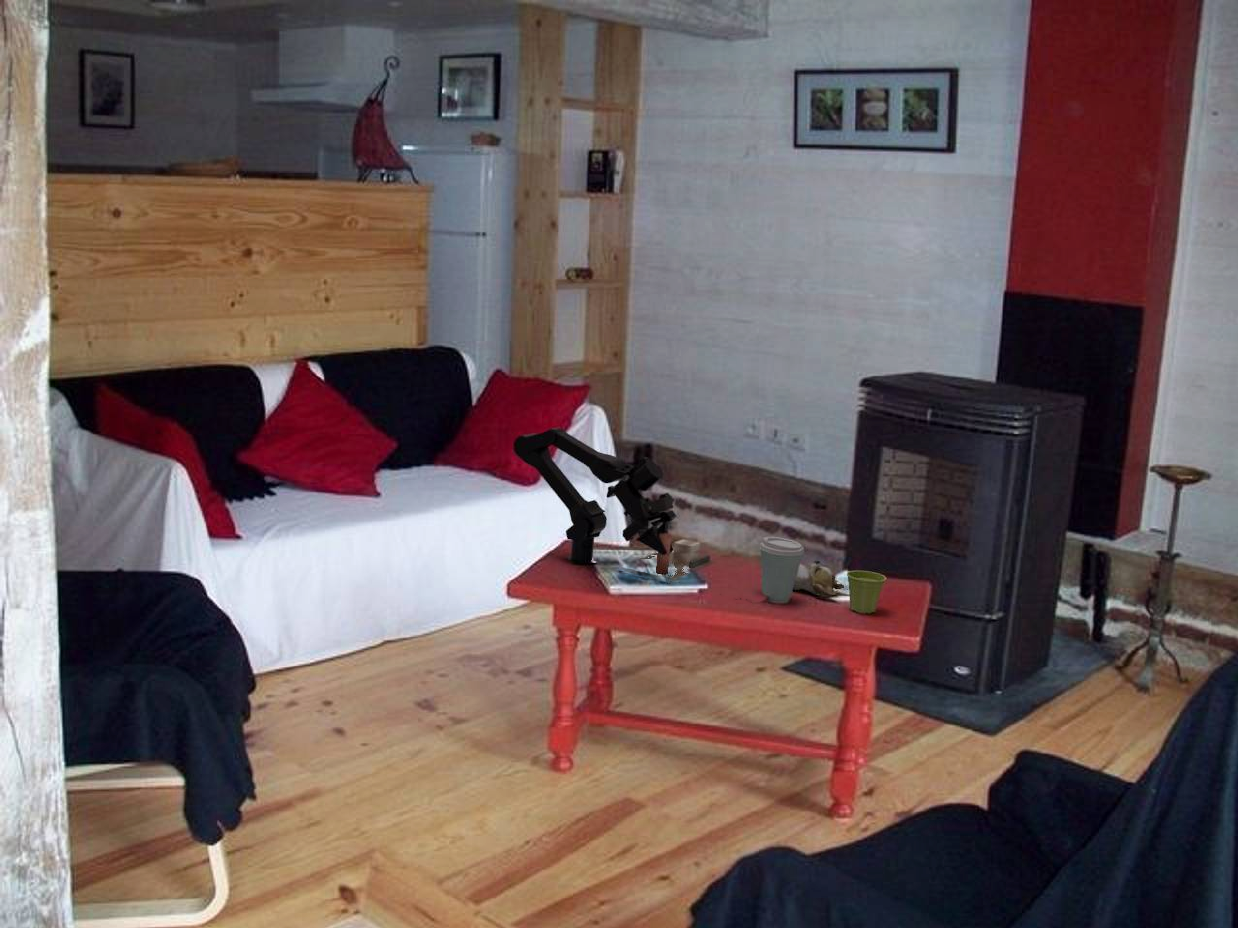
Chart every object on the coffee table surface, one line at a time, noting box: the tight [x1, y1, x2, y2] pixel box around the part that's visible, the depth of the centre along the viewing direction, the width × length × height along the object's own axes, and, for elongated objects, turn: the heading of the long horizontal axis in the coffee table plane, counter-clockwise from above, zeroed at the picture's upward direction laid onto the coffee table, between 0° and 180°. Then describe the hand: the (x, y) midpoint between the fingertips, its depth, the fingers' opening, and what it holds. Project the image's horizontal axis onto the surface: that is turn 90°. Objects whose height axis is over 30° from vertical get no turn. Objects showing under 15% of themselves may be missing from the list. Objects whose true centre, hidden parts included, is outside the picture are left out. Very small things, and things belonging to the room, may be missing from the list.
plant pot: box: [846, 570, 887, 614], centre depth 343 cm, size 9×9×9 cm
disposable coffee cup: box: [759, 536, 805, 605], centre depth 345 cm, size 11×11×15 cm
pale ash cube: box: [672, 538, 701, 565], centre depth 370 cm, size 5×5×5 cm
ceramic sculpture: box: [793, 560, 845, 599], centre depth 355 cm, size 11×9×15 cm
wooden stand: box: [637, 532, 716, 581], centre depth 365 cm, size 16×24×11 cm, turn 151°
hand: (668, 552), depth 355 cm, fingers closed on wooden stand, 3 cm apart
